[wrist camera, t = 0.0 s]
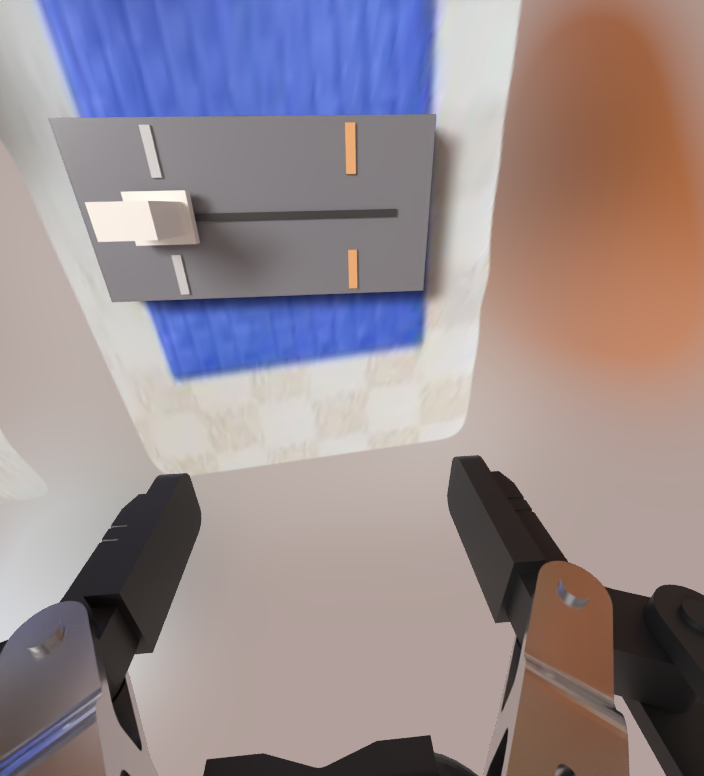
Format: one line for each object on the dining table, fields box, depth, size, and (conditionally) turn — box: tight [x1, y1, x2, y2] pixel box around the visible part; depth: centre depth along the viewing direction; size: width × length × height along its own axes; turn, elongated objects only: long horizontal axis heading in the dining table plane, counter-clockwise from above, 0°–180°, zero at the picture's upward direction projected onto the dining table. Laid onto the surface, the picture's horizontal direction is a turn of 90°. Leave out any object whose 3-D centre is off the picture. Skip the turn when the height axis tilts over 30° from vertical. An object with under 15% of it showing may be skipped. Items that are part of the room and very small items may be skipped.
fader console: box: [48, 114, 436, 302], centre depth 31 cm, size 14×30×3 cm, turn 91°
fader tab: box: [85, 190, 200, 246], centre depth 26 cm, size 4×5×7 cm
